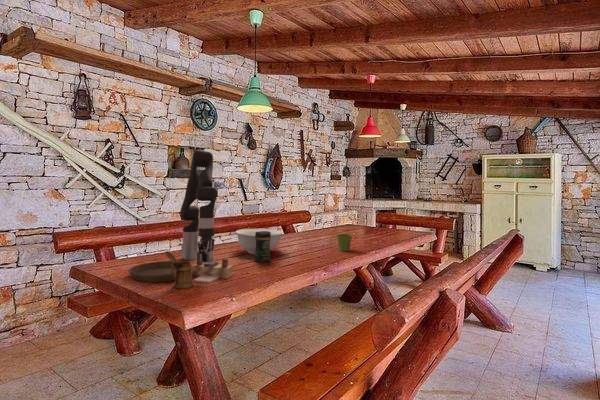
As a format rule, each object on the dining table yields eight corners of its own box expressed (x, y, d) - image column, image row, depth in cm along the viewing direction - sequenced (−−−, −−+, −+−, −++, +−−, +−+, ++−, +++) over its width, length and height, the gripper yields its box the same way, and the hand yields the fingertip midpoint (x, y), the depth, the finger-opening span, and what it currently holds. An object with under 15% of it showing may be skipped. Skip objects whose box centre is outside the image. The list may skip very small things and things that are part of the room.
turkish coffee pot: (160, 287, 173) (160, 249, 172) (187, 282, 183) (187, 245, 182) (170, 292, 167) (170, 252, 166) (197, 286, 177) (197, 248, 176)
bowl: (291, 251, 264) (291, 231, 263) (262, 259, 236) (263, 236, 235) (255, 246, 281) (255, 226, 280) (225, 253, 254) (225, 231, 253)
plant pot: (341, 248, 279) (341, 233, 279) (355, 250, 272) (355, 235, 272) (332, 250, 270) (333, 235, 269) (347, 252, 263) (347, 237, 262)
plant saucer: (118, 275, 194) (118, 266, 194) (173, 265, 217) (173, 257, 217) (146, 288, 173) (146, 278, 173) (203, 276, 196) (204, 267, 196)
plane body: (191, 275, 196) (192, 252, 195) (198, 272, 203) (198, 250, 202) (227, 278, 191) (227, 255, 191) (232, 274, 198) (233, 252, 197)
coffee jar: (258, 263, 227) (259, 232, 226) (252, 260, 233) (253, 230, 232) (272, 261, 232) (273, 231, 231) (266, 258, 239) (266, 229, 238)
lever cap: (200, 261, 186) (200, 251, 186) (203, 260, 190) (203, 250, 190) (209, 262, 185) (209, 252, 185) (212, 260, 189) (213, 250, 189)
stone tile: (193, 281, 185) (193, 279, 185) (202, 276, 193) (202, 275, 193) (210, 282, 183) (210, 281, 183) (218, 278, 191) (218, 276, 191)
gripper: (206, 224, 194) (206, 257, 195) (192, 228, 180) (192, 263, 181) (219, 225, 193) (219, 258, 194) (206, 229, 179) (206, 264, 180)
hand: (206, 260), depth 187 cm, fingers closed on lever cap, 4 cm apart
